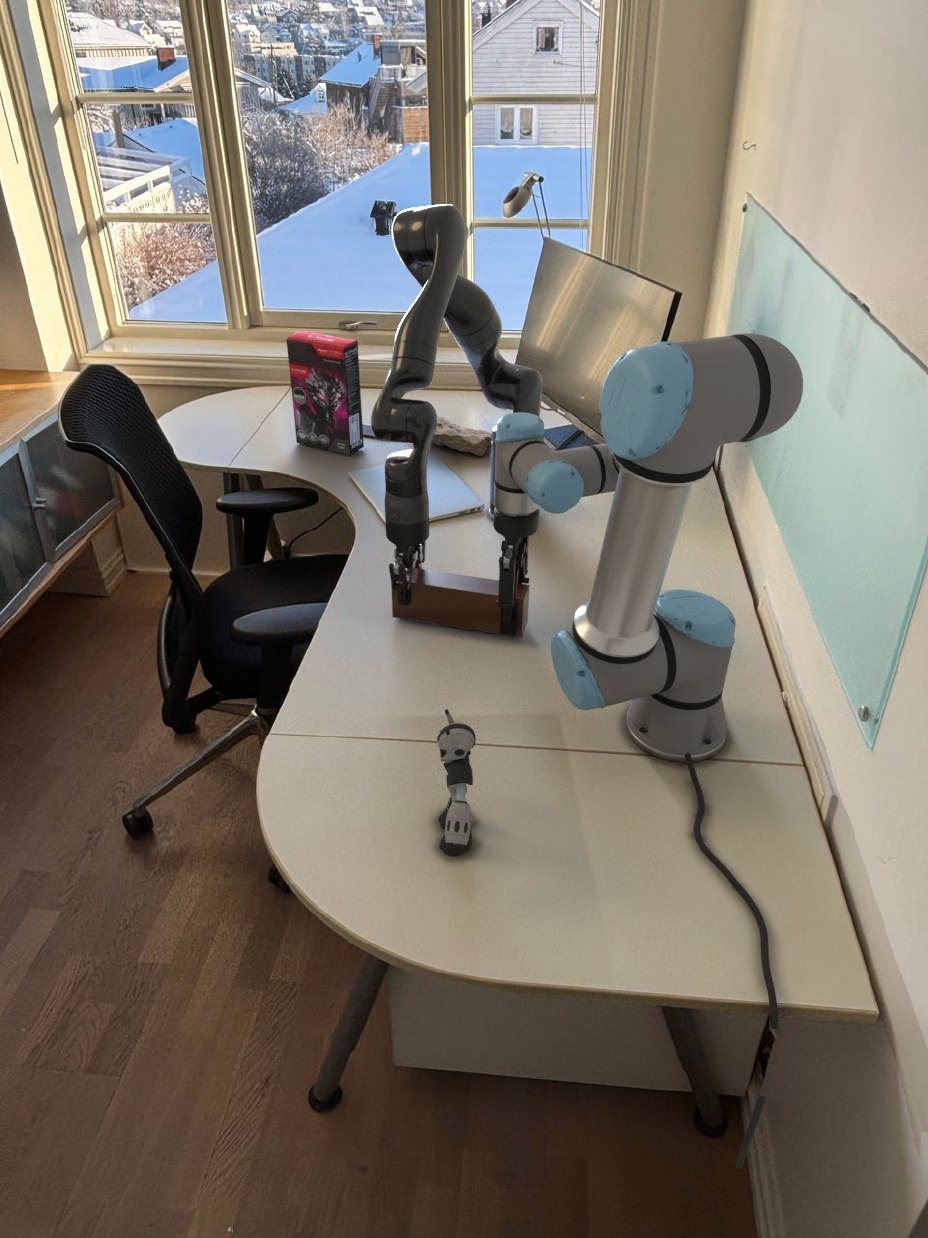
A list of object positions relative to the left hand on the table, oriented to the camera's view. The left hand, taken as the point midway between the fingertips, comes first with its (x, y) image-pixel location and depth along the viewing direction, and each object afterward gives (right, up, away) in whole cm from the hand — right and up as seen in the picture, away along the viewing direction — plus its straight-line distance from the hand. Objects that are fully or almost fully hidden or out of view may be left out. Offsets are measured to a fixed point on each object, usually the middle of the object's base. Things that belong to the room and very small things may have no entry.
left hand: (409, 596), depth 167 cm
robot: (+9, -33, -42) cm, 54 cm away
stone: (+6, +40, +67) cm, 78 cm away
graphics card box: (-24, +39, +66) cm, 81 cm away
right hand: (+18, -5, -3) cm, 19 cm away
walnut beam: (+9, -4, 0) cm, 10 cm away
